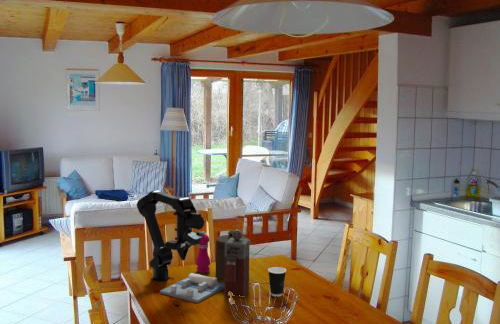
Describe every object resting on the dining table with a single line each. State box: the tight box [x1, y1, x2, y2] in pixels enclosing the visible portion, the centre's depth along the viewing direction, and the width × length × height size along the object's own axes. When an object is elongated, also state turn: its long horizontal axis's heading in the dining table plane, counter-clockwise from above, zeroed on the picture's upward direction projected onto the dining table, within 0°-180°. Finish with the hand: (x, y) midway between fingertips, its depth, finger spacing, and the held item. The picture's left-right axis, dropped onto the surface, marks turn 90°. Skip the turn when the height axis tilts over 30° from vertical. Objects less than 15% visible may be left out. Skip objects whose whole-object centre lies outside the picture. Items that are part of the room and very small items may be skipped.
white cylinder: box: [187, 272, 215, 287], centre depth 224 cm, size 12×4×4 cm, turn 59°
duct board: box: [159, 273, 225, 304], centre depth 220 cm, size 20×22×4 cm
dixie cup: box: [267, 266, 287, 298], centre depth 216 cm, size 8×8×11 cm
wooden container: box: [215, 229, 248, 281], centre depth 239 cm, size 15×15×22 cm
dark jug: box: [223, 228, 251, 297], centre depth 215 cm, size 9×11×28 cm
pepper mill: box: [195, 230, 211, 274], centre depth 245 cm, size 7×7×20 cm
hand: (183, 260), depth 224 cm, fingers closed
